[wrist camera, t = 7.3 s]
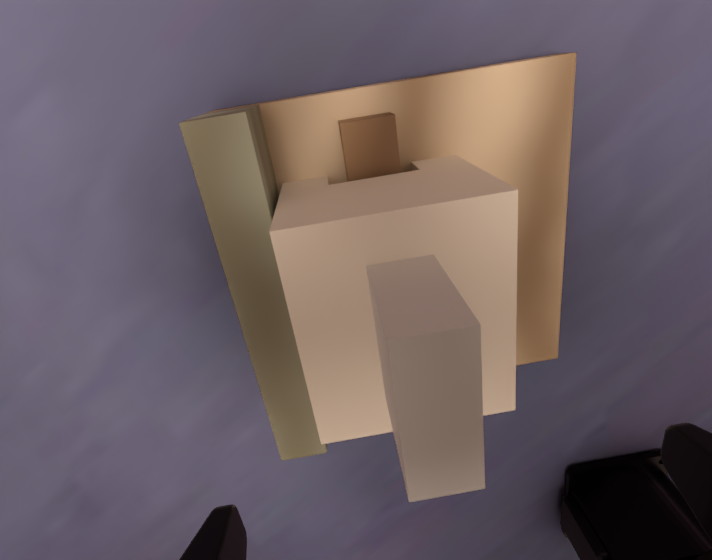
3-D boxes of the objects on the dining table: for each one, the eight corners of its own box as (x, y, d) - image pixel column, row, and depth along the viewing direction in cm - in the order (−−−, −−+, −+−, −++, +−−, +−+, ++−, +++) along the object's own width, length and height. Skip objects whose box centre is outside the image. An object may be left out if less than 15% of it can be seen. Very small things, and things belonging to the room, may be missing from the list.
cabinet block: (455, 154, 18) (603, 238, 9) (463, 323, 21) (575, 510, 12) (282, 183, 18) (250, 298, 9) (319, 348, 21) (323, 556, 12)
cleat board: (556, 54, 18) (638, 46, 13) (543, 341, 24) (597, 404, 19) (213, 110, 18) (179, 122, 13) (287, 386, 24) (281, 460, 19)
